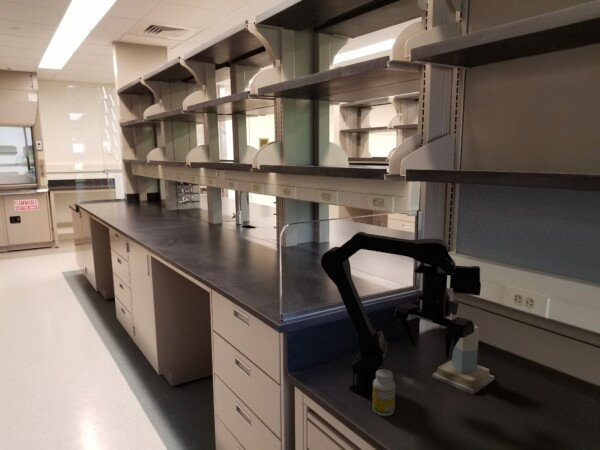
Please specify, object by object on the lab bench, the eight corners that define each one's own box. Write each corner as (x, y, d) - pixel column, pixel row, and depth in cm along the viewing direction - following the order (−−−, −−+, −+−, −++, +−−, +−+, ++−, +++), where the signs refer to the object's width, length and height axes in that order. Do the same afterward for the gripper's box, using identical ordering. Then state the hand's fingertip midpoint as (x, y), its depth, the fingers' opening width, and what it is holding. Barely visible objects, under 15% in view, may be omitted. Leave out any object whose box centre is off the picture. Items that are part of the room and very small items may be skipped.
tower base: (431, 377, 120) (432, 367, 120) (454, 364, 128) (454, 354, 127) (472, 394, 111) (473, 384, 111) (494, 379, 119) (494, 369, 118)
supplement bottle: (392, 418, 101) (393, 380, 99) (369, 413, 103) (370, 376, 101) (396, 406, 106) (397, 370, 104) (374, 402, 108) (375, 366, 106)
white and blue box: (461, 373, 116) (463, 329, 115) (451, 365, 121) (454, 323, 119) (476, 371, 117) (479, 327, 115) (466, 363, 122) (469, 321, 120)
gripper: (487, 293, 103) (483, 355, 105) (419, 277, 116) (417, 332, 119) (463, 303, 95) (460, 369, 98) (394, 285, 109) (392, 343, 111)
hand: (431, 352), depth 106 cm, fingers open, 9 cm apart
